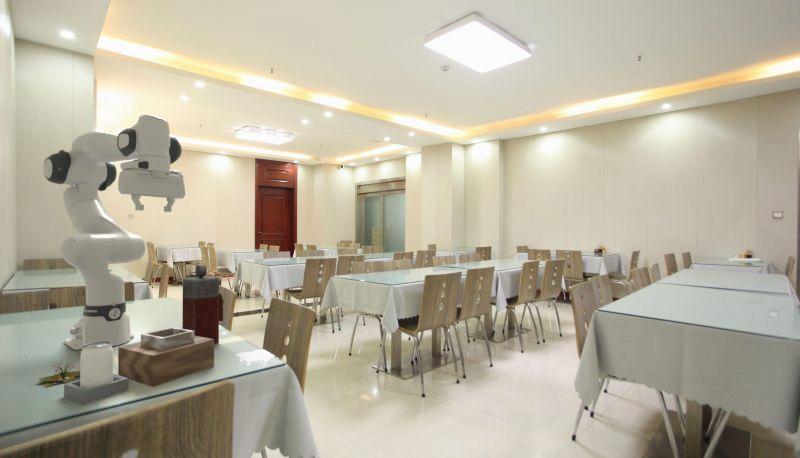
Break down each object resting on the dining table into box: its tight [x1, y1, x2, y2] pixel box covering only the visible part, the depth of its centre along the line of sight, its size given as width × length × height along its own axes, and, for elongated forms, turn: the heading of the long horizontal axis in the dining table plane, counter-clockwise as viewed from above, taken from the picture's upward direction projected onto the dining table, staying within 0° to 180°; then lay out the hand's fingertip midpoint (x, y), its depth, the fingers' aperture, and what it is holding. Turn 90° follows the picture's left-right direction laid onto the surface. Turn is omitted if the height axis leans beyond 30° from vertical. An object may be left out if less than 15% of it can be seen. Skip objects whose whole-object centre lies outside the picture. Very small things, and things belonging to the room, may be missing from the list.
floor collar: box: [63, 373, 130, 405], centre depth 101 cm, size 10×10×3 cm
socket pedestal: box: [117, 326, 215, 388], centre depth 116 cm, size 16×18×11 cm
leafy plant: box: [34, 362, 80, 388], centre depth 110 cm, size 12×12×5 cm
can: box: [79, 342, 114, 389], centre depth 101 cm, size 6×6×12 cm
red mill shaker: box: [181, 264, 224, 345], centre depth 146 cm, size 9×11×28 cm
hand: (154, 211), depth 128 cm, fingers open, 8 cm apart
